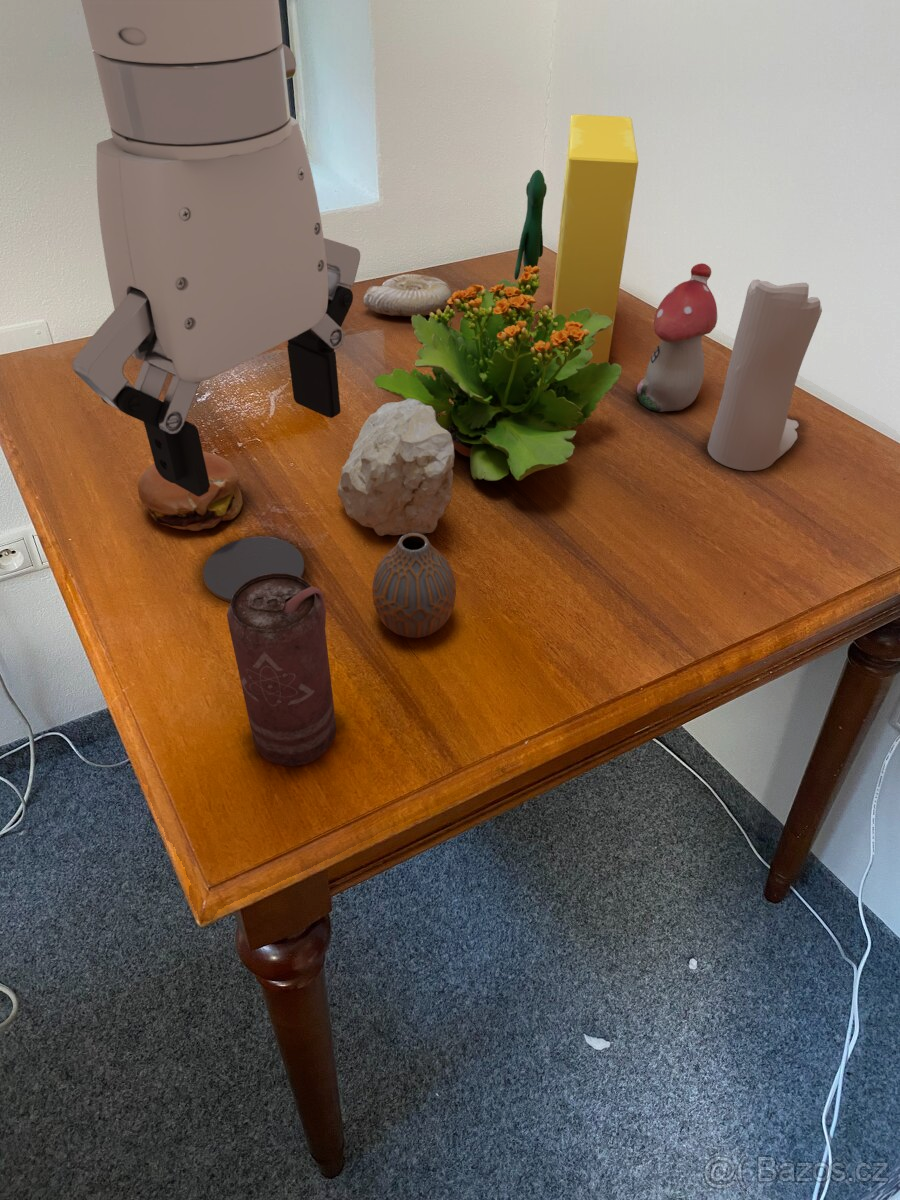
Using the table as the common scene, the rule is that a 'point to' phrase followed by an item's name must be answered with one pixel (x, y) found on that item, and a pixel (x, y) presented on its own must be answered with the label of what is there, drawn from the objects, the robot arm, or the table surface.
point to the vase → (414, 588)
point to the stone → (399, 470)
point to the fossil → (408, 296)
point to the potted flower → (507, 377)
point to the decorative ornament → (679, 344)
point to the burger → (193, 497)
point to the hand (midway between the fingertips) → (255, 444)
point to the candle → (763, 376)
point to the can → (284, 666)
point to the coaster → (249, 563)
